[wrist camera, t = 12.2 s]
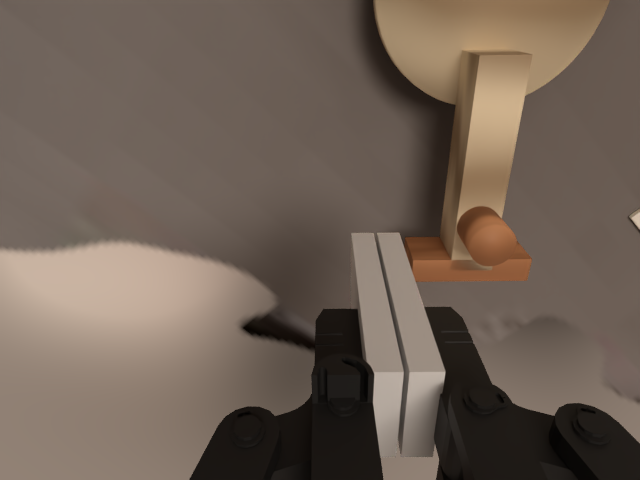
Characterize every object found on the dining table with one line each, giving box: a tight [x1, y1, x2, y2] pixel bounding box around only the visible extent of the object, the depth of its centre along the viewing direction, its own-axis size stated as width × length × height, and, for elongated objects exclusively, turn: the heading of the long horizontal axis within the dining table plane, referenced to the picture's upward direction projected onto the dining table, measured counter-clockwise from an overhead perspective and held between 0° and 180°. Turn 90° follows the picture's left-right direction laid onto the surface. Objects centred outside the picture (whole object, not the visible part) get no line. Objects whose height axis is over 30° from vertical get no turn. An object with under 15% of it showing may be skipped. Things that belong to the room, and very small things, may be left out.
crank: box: [373, 0, 610, 282], centre depth 23 cm, size 22×12×7 cm, turn 1°
